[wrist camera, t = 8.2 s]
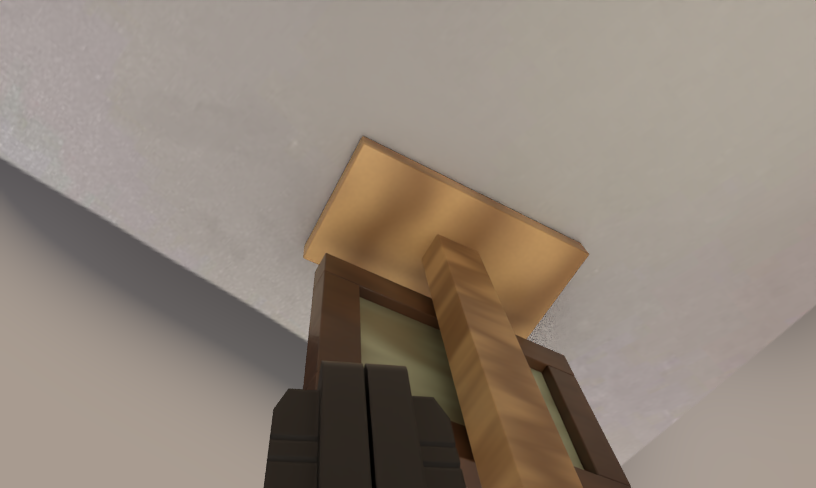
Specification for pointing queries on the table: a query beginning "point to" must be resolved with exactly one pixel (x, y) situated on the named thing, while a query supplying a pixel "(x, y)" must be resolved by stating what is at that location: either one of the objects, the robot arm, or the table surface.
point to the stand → (463, 296)
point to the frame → (440, 362)
